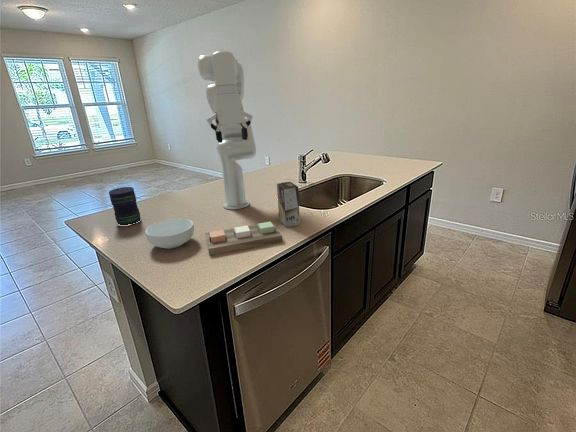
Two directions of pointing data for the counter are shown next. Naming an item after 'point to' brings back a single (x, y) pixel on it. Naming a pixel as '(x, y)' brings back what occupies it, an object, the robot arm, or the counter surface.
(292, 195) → the coffee box
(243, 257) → the counter surface
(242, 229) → the cream tile
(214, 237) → the terracotta tile
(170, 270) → the counter surface
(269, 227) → the sage tile
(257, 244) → the tile frame
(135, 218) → the storage jar
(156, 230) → the cereal bowl
